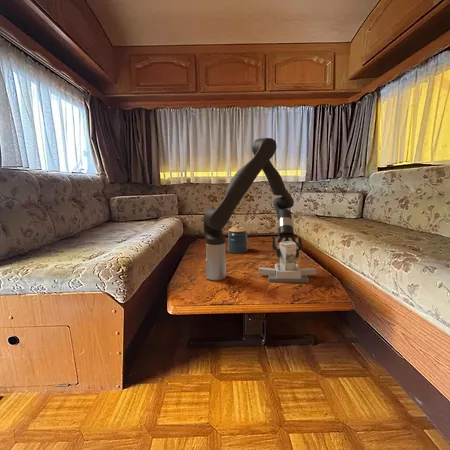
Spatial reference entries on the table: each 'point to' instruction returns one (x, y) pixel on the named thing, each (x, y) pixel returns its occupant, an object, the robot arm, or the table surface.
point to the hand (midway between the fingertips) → (287, 257)
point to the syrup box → (287, 256)
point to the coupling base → (288, 274)
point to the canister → (237, 240)
